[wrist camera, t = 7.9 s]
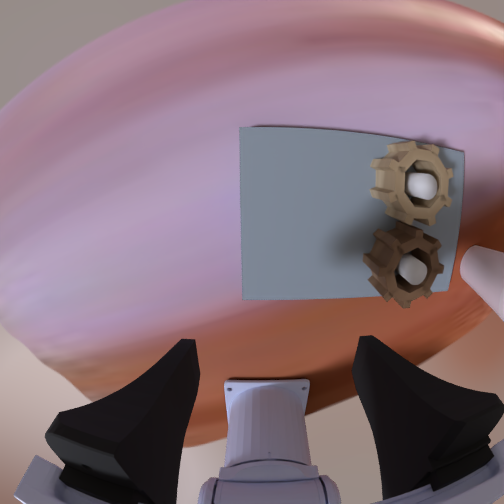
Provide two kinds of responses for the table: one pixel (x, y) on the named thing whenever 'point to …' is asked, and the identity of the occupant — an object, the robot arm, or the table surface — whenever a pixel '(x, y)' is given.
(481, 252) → the smoothie
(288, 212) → the gear board
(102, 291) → the table surface
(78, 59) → the table surface
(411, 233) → the walnut gear
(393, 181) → the beech gear
